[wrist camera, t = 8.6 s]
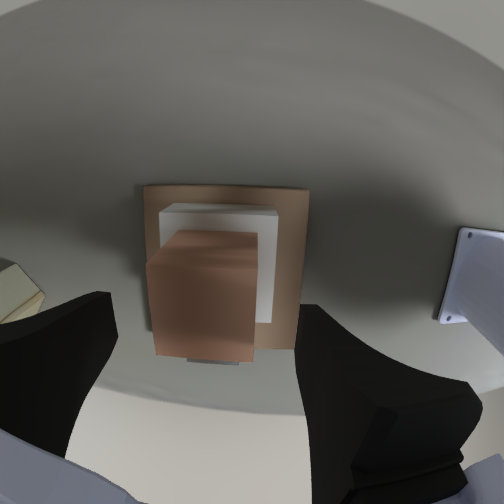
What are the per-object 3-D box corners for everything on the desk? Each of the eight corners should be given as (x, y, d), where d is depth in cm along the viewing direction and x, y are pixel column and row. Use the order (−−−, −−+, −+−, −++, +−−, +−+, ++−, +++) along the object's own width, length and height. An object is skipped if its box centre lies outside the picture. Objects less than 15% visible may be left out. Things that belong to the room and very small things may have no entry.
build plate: (307, 189, 18) (320, 198, 15) (292, 341, 22) (298, 376, 18) (148, 184, 18) (123, 193, 15) (159, 333, 22) (143, 365, 18)
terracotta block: (257, 232, 15) (257, 269, 10) (254, 304, 16) (253, 362, 12) (178, 229, 15) (145, 264, 10) (181, 300, 16) (156, 354, 12)
